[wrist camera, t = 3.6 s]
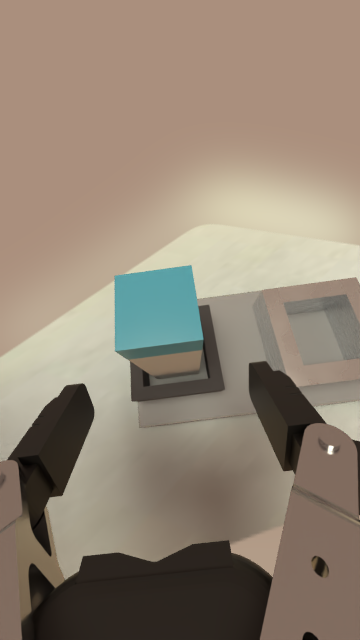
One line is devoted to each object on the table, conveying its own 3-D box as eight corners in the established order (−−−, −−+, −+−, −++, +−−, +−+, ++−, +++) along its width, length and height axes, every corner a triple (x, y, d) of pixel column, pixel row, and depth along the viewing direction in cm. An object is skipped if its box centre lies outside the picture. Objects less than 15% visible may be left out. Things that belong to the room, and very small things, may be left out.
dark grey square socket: (140, 401, 20) (131, 401, 17) (136, 326, 23) (128, 315, 20) (220, 391, 20) (225, 389, 17) (207, 316, 23) (209, 304, 20)
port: (274, 390, 20) (290, 387, 17) (252, 306, 23) (261, 290, 20) (368, 378, 20) (403, 373, 16) (333, 295, 23) (356, 277, 20)
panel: (141, 426, 20) (139, 427, 19) (136, 311, 25) (134, 307, 24) (376, 397, 20) (385, 397, 19) (328, 285, 24) (333, 280, 23)
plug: (157, 379, 21) (115, 351, 10) (154, 339, 22) (114, 275, 11) (198, 374, 21) (203, 339, 10) (193, 334, 22) (191, 265, 11)
